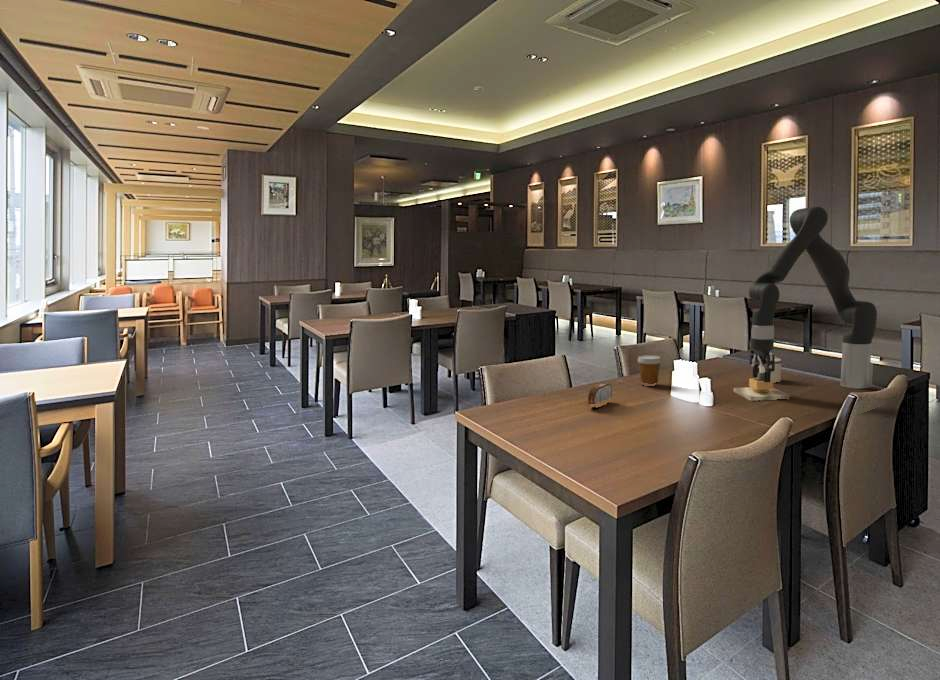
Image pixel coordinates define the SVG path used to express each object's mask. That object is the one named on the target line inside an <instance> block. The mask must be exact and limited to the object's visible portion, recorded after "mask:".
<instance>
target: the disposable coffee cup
mask: <svg viewBox="0 0 940 680" xmlns="http://www.w3.org/2000/svg"><path fill="white" fill-rule="evenodd" d="M637 358H638V359H637V363H638V368H639V379H640V383H641V382H643V383H648V384H654V383H657V384H658V380H659V375H660V374H659V373H660V366H661V363H662V359H661V357H660V356H658V355H655V354H654V355H653V354H652V355H651V354H648V355H646V354H645V355H639V356H638V357H637Z"/></svg>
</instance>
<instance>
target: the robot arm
mask: <svg viewBox="0 0 940 680" xmlns="http://www.w3.org/2000/svg"><path fill="white" fill-rule="evenodd" d="M828 220H829V215H828V212H827V210H826V209H825V208H823V207H821V206H811V207H810V206H809V207H803V208H799V209H796V210H794V211H793V212H792V213H791V214H790V217H789V224H790V228H791V230H792V231H793V234H794V235H795V236H794V237H793V238H792V239H791V240H790V241H789V242H788V243H787V244H786V245H784V247H783V248H781V249H780V250H779V251H778V252H777V253H776V255H774V256H773V258H772V260H771V261H770V263H769V265H768V267H766V270H764V272H762V273H761V274H760V276H758V278H756V279H755V280H754V281H753V282H752V284H751V286H750V288H749V290H748V295H749V299H750V300H751V301H754V302H758V303H760V306H759V308H755V309H754V310H753V311H752V323H751V324H752V325H751V330H750V331H751V332H750V333H751V334H750V335H751V336H750V350H749V360H748V361H749V363H748V364H749V366H751V368H752V373H751V374H752V377H753V378H757V377H758V373H759V368H758V367H759V366H760V365H761V367H763V370H764V378H763V381H764V382H770V377H771V372H772V371H775V357H776V356H775V355H773V354H772V355H770V353H771V352H770V351H773V350H774V348H775V347H774V345H775V344H774V343H775V327H774V326H775V325H774V323H775V312H776V310H777V306H778V304H779V300H780V290H779V287H778V286H777V285H776V284H778V283H781V282H783V281H785V279H786V277H787V276H788V274H789V273H790V271H791V270H792V268H793V267H794V265H795V264H796V262H797V260H798V259H799V257H800V256H801V255H802V254H803V253H804V251H805V250H806V252H807V254H808V256H809V258H810V259H811V261H812V263H813V265H814V267H815V269H816V270H817V271H816V272H817V273H818V275H819V277H820V279H822V281H823V283H824V285H825V286H826V289H827V291H828V293H829V294H830V296H831V297H830V298H832V301H833V303H834V306H835V309H836V311H837V313H838V316H839V318H840V320H841V321H842V322H844V323H845V324H847V325H852V329H851V331H850V332H849V333H845V334H843V336H842V347H841V348H842V351H841V365H840V366H841V368H840V370H841V371H840V384H839V385H840V386H841V387H843V388H846V389H847V388H848V389H854V390H855V389H856V390H858V389H861V390H863V389H869V388H872V386H873V371H874V363H873V362H871V360H872V359H871V358H872V344H873V338H874V336H875V333H876V329H877V328H876V327H877V318H878V312H877V307H876V305H875V304H873V303H872V302H870V301H863V300H856V299H855V297H854V295H853V294H852V291H851V290H850V287H849V283H850V269H849V266H848V264H847V262H846V260H845V258H844V256H843V255H842V254H841V253H840V252H839V251H838V250H837V249H836V248H835V247H834V246H832V245H831V244H829V242H827V241H826V240H825V239H824V238H823V237H822V236H821V234H820V233H821V232H822V231H823V230H824V228H825V227H826V225H827V223H828ZM771 365H772V368H771Z"/></svg>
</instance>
